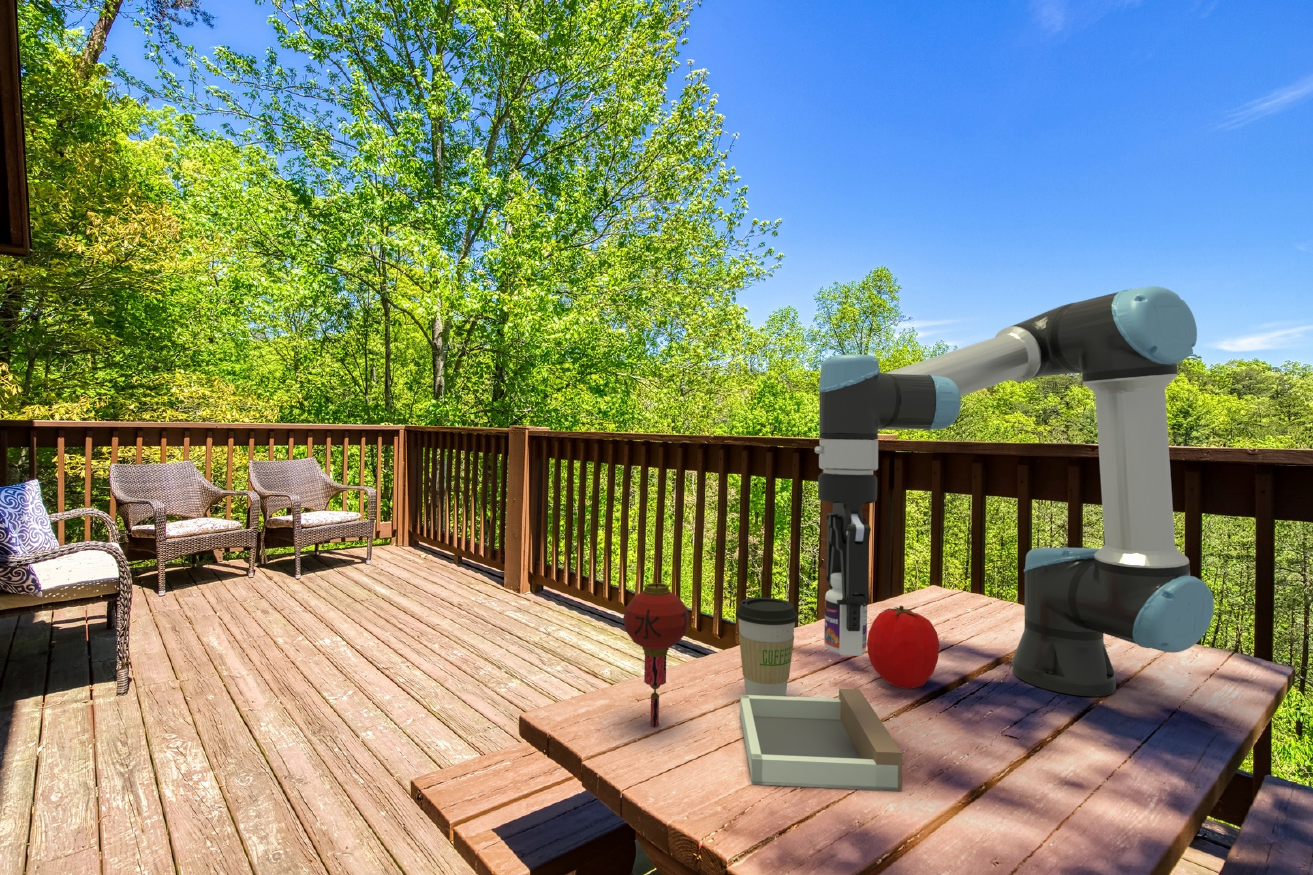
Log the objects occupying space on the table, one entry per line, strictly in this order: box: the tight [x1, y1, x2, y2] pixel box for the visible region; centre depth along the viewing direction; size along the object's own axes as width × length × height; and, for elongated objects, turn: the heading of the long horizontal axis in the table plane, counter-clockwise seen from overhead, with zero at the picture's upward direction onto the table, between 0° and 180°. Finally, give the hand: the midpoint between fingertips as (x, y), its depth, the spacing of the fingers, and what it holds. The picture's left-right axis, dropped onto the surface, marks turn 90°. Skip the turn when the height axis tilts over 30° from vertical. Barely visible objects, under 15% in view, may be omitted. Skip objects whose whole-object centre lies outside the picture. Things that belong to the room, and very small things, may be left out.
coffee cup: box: [735, 596, 799, 697], centre depth 100 cm, size 10×10×15 cm
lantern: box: [622, 514, 690, 728], centre depth 90 cm, size 10×10×30 cm
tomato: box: [866, 605, 940, 690], centre depth 106 cm, size 12×12×13 cm
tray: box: [739, 687, 903, 792], centre depth 84 cm, size 18×19×4 cm
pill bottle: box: [823, 573, 868, 654], centre depth 83 cm, size 5×5×10 cm
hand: (844, 646), depth 83 cm, fingers closed on pill bottle, 5 cm apart
